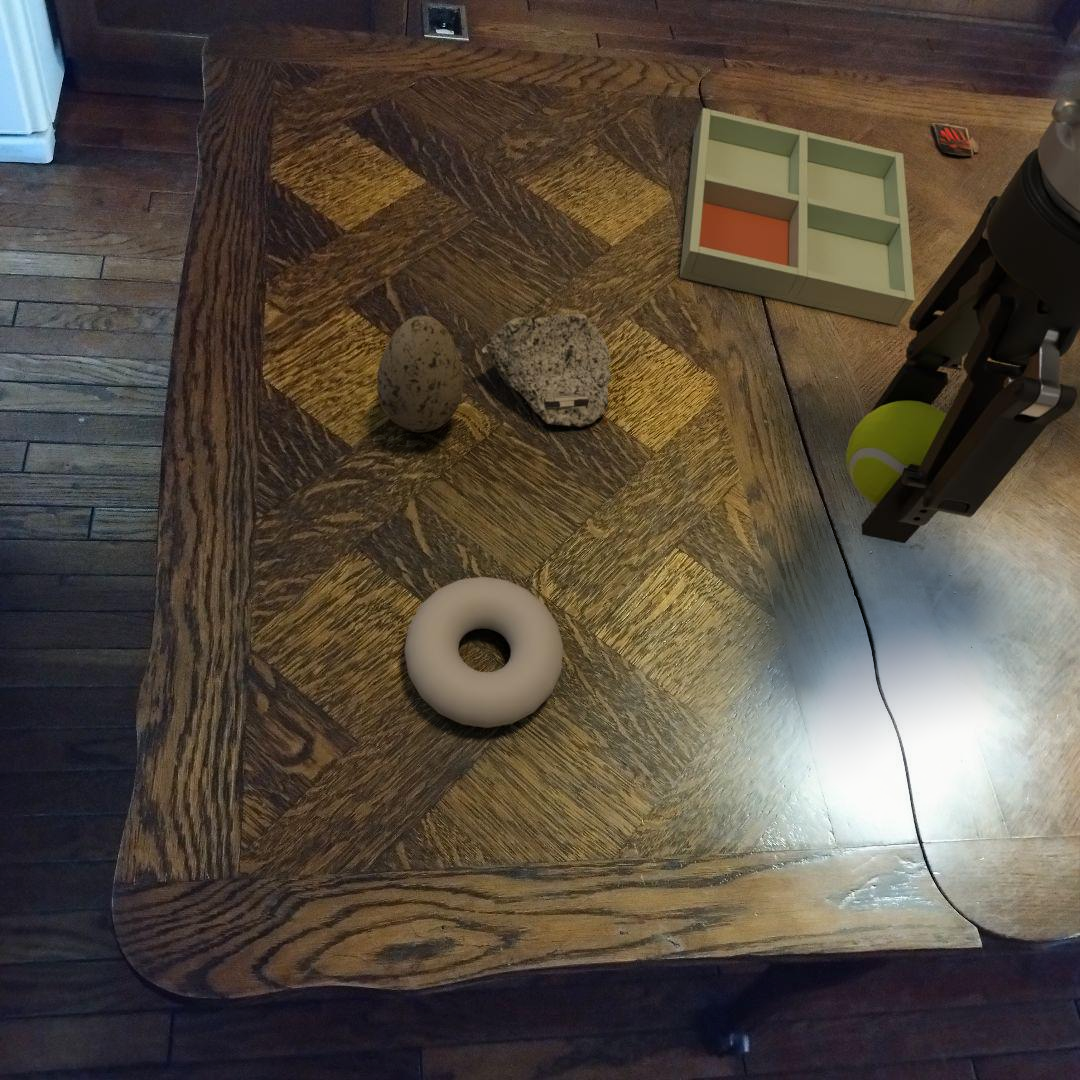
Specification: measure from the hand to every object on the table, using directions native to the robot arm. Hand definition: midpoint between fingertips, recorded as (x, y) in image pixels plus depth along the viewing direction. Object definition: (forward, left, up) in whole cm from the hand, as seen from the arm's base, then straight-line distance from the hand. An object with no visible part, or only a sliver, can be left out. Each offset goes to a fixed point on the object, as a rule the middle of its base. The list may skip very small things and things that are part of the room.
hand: (881, 484), depth 62 cm
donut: (+22, +12, -11) cm, 28 cm away
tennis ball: (0, 0, 0) cm, 1 cm away
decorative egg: (+30, -6, -11) cm, 33 cm away
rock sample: (+20, -11, -11) cm, 26 cm away
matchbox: (-15, -54, -11) cm, 57 cm away
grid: (+2, -36, -11) cm, 37 cm away
